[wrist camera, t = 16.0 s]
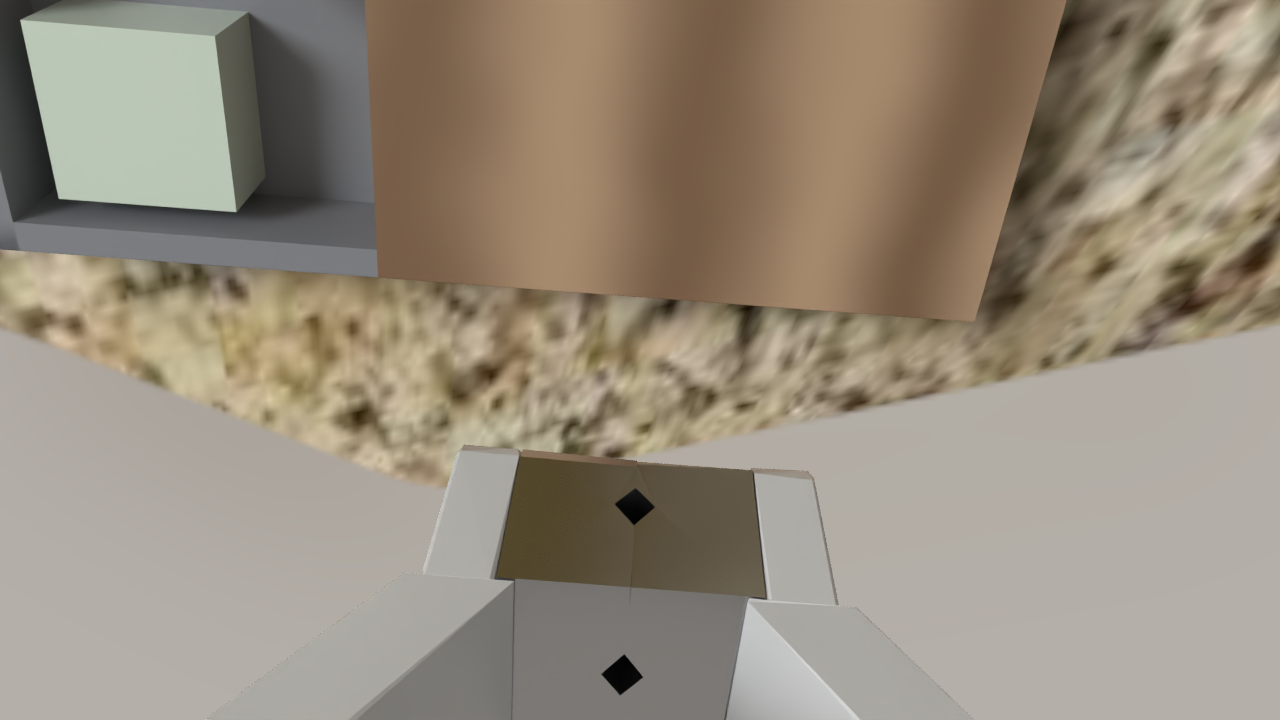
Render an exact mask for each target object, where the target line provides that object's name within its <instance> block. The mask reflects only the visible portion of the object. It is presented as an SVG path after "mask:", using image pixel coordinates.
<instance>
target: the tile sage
mask: <svg viewBox="0 0 1280 720" xmlns="http://www.w3.org/2000/svg"><path fill="white" fill-rule="evenodd" d="M20 21H21V26H22V31H23V35H24V40H25V44H26V49H27V54H28V58H29V63H30V68H31V72H32V77H33V82H34V86H35V91H36V95H37V100H38V105H39V109H40V114H41V119H42V123H43V128H44V133H45V137H46V142H47V146H48V151H49V156H50V160H51V165H52V170H53V174H54V179H55V184H56V188H57V193H58V197H59V199H68V200H81V201H95V202H108V203H121V204H135V205H148V206H161V207H174V208H188V209H201V210H214V211H228V212H237V211H238V210H239V209H240V207H241V206H242V205H243V204H244V203H245V201H246V200H247V199H248V198H249V196H250V195H251V194H252V193H253V192H254V190H255V189H256V188H257V187H258V186H259V184H260V183H261V182H262V181H263V180H264V178H265V177H266V175H265V165H264V156H263V147H262V137H261V128H260V118H259V109H258V99H257V90H256V80H255V71H254V61H253V52H252V43H251V33H250V24H249V14H248V12H244V11H232V10H220V9H209V8H197V7H185V6H173V5H161V4H149V3H137V2H125V1H114V0H62V1H60V2H57V3H55V4H53V5H51V6H49V7H47V8H45V9H42V10H40V11H38V12H36V13H34V14H32V15H30V16H28V17H25V18H23V19H21V20H20Z"/></svg>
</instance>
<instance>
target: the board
mask: <svg viewBox="0 0 1280 720" xmlns="http://www.w3.org/2000/svg"><path fill="white" fill-rule="evenodd" d="M1066 1H1067V0H365V15H366V36H367V57H368V78H369V98H370V119H371V140H372V161H373V182H374V203H375V224H376V245H377V266H378V278H392V279H405V280H419V281H432V282H446V283H459V284H472V285H486V286H499V287H513V288H526V289H539V290H553V291H566V292H580V293H593V294H607V295H620V296H633V297H647V298H660V299H674V300H687V301H700V302H714V303H727V304H741V305H754V306H768V307H781V308H794V309H808V310H821V311H835V312H848V313H861V314H875V315H888V316H902V317H915V318H928V319H942V320H955V321H969V322H975V319H976V315H977V312H978V308H979V305H980V301H981V298H982V294H983V291H984V287H985V284H986V280H987V277H988V273H989V270H990V266H991V263H992V259H993V256H994V253H995V249H996V246H997V242H998V239H999V235H1000V232H1001V228H1002V225H1003V221H1004V218H1005V214H1006V211H1007V207H1008V204H1009V200H1010V197H1011V193H1012V190H1013V186H1014V183H1015V179H1016V176H1017V172H1018V169H1019V165H1020V162H1021V158H1022V155H1023V151H1024V148H1025V144H1026V141H1027V137H1028V134H1029V130H1030V127H1031V123H1032V120H1033V116H1034V113H1035V110H1036V106H1037V103H1038V99H1039V96H1040V92H1041V89H1042V85H1043V82H1044V78H1045V75H1046V71H1047V68H1048V64H1049V61H1050V57H1051V54H1052V50H1053V47H1054V43H1055V40H1056V36H1057V33H1058V29H1059V26H1060V22H1061V19H1062V15H1063V12H1064V8H1065V5H1066Z"/></svg>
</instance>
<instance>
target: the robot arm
mask: <svg viewBox="0 0 1280 720" xmlns="http://www.w3.org/2000/svg"><path fill="white" fill-rule="evenodd" d="M204 720H974V719H973V718H972V717H971V716H970V715H969V714H968V713H967V712H966V711H965V710H964V709H962V708H961V707H960V706H959V705H958V704H957V703H956V702H955V701H954V700H953V699H952V698H951V697H950V696H949V695H948V694H947V693H946V692H945V691H944V690H943V689H941V688H940V687H939V686H938V685H937V684H936V683H935V682H934V681H933V680H932V679H931V678H930V677H929V676H928V675H927V674H926V673H925V672H924V671H923V670H921V669H920V667H918V666H917V665H916V664H915V663H914V662H913V661H912V660H911V659H910V658H909V657H908V656H907V655H906V654H905V653H904V652H903V651H902V650H901V649H900V648H899V647H897V645H896V644H894V643H893V642H892V641H891V640H890V639H889V638H888V637H887V636H886V635H885V634H884V633H883V632H882V631H881V630H880V629H879V628H878V627H877V626H876V625H875V624H873V623H872V622H871V621H870V620H869V619H868V618H867V617H866V616H865V615H864V614H863V613H862V612H861V611H860V610H859V609H858V608H856V607H848V606H839V605H838V600H837V594H836V589H835V584H834V579H833V574H832V569H831V564H830V559H829V554H828V548H827V543H826V538H825V533H824V528H823V523H822V517H821V512H820V507H819V502H818V497H817V492H816V487H815V482H814V478H813V477H812V475H811V474H810V473H809V472H808V471H795V470H775V469H757V468H756V469H755V468H751V470H739V469H727V468H713V467H699V466H685V465H672V464H659V463H646V462H637V461H633V460H623V459H613V458H603V457H593V456H583V455H573V454H563V453H553V452H543V451H533V450H523V451H522V452H521V451H520V450H518V449H509V448H497V447H485V446H473V445H464V446H463V447H462V448H461V449H460V451H459V452H458V453H457V455H456V458H455V462H454V465H453V468H452V472H451V475H450V479H449V482H448V486H447V489H446V493H445V496H444V499H443V503H442V506H441V510H440V513H439V517H438V520H437V523H436V527H435V530H434V534H433V537H432V540H431V544H430V547H429V551H428V554H427V557H426V561H425V564H424V568H423V571H422V574H414V573H403V574H402V575H400V576H399V577H397V578H396V579H395V580H393V581H392V582H391V583H389V584H388V585H387V586H385V587H384V588H382V589H381V590H380V591H379V592H377V593H376V594H374V595H373V596H372V597H370V598H369V599H368V600H366V601H365V602H363V603H362V604H361V605H359V606H358V607H357V608H355V609H354V610H353V611H351V612H350V613H348V614H347V615H346V616H344V617H343V618H342V619H340V620H339V621H338V622H336V623H335V624H334V625H332V626H331V627H329V628H328V629H327V630H325V631H324V632H323V633H321V634H320V635H319V636H317V637H316V638H314V639H313V640H312V641H310V642H309V643H308V644H306V645H305V646H304V647H302V648H301V649H300V650H298V651H297V652H295V653H294V654H293V655H291V656H290V657H289V658H287V659H286V660H285V661H283V662H282V663H281V664H279V665H278V666H277V667H275V668H274V669H272V670H271V671H270V672H268V673H267V674H266V675H264V676H263V677H261V678H260V679H259V680H257V681H256V682H255V683H254V684H252V685H251V686H249V687H248V688H247V689H245V690H244V691H242V692H241V693H240V694H238V695H237V696H236V697H234V698H233V699H232V700H230V701H229V702H228V703H226V704H225V705H224V706H222V707H221V708H219V709H218V710H217V711H215V712H214V713H213V714H211V715H210V716H209V717H207V718H206V719H204Z"/></svg>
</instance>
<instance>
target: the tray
mask: <svg viewBox="0 0 1280 720" xmlns="http://www.w3.org/2000/svg"><path fill="white" fill-rule="evenodd" d="M60 1H62V0H0V249H3V250H16V251H30V252H43V253H57V254H70V255H83V256H97V257H110V258H124V259H137V260H150V261H164V262H177V263H191V264H204V265H218V266H231V267H244V268H258V269H271V270H285V271H298V272H311V273H325V274H338V275H352V276H365V277H378V266H377V245H376V224H375V203H374V182H373V161H372V140H371V119H370V98H369V78H368V57H367V36H366V15H365V0H114V1H125V2H137V3H149V4H161V5H173V6H185V7H197V8H209V9H220V10H232V11H244V12H248V14H249V24H250V33H251V43H252V52H253V61H254V71H255V80H256V90H257V99H258V109H259V118H260V128H261V137H262V147H263V156H264V165H265V175H266V177H265V178H264V180H263V181H262V182H261V183H260V184H259V186H258V187H257V188H256V189H255V190H254V192H253V193H252V194H251V195H250V196H249V198H248V199H247V200H246V201H245V203H244V204H243V205H242V206H241V207H240V209H239V210H238V211H237V212H228V211H214V210H201V209H188V208H174V207H161V206H148V205H135V204H121V203H108V202H95V201H81V200H68V199H59V197H58V193H57V188H56V184H55V179H54V174H53V170H52V165H51V160H50V156H49V151H48V146H47V142H46V137H45V133H44V128H43V123H42V119H41V114H40V109H39V105H38V100H37V95H36V91H35V86H34V82H33V77H32V72H31V68H30V63H29V58H28V54H27V49H26V44H25V40H24V35H23V31H22V26H21V21H20V20H21V19H23V18H25V17H28V16H30V15H32V14H34V13H36V12H38V11H40V10H42V9H45V8H47V7H49V6H51V5H53V4H55V3H57V2H60Z"/></svg>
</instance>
